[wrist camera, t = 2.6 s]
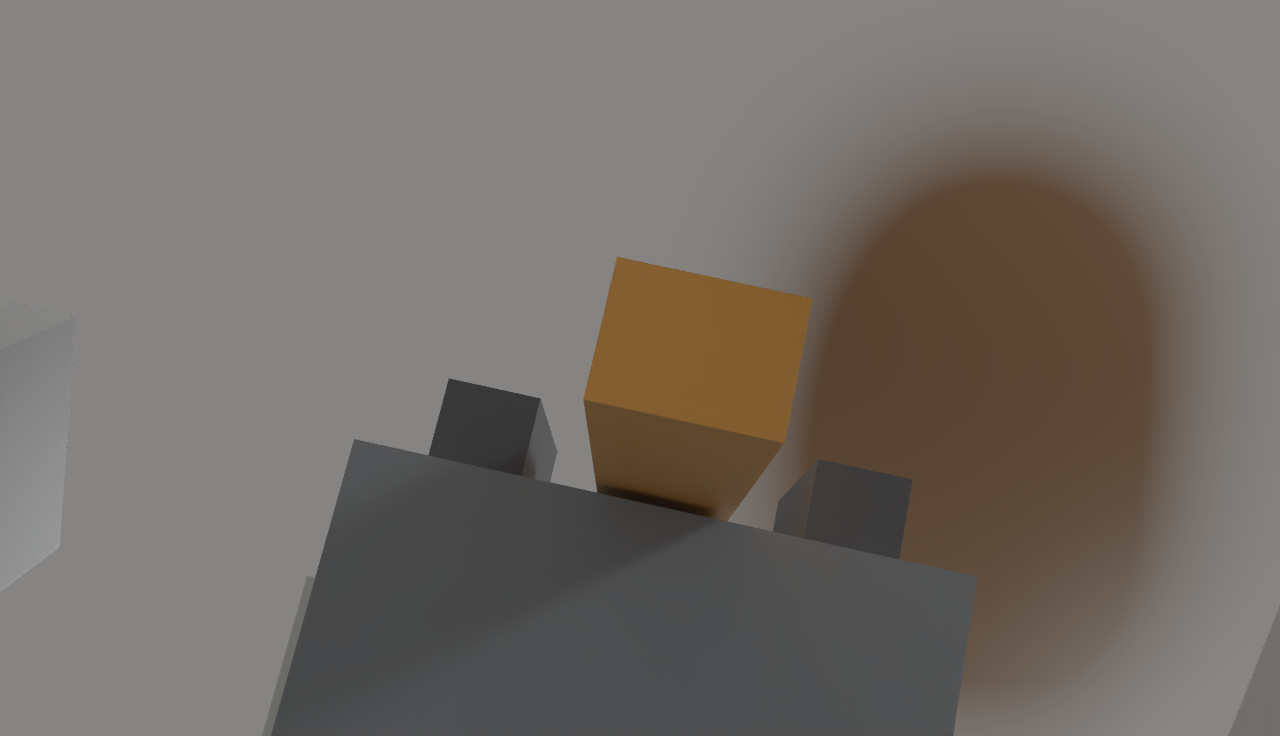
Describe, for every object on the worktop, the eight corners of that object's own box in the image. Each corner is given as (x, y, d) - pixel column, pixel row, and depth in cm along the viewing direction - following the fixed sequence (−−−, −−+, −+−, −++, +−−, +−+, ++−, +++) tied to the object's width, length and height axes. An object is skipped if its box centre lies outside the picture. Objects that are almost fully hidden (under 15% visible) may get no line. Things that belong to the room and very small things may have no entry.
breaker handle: (715, 537, 41) (732, 452, 42) (784, 442, 23) (812, 298, 24) (600, 511, 41) (619, 427, 42) (583, 399, 24) (617, 257, 24)
